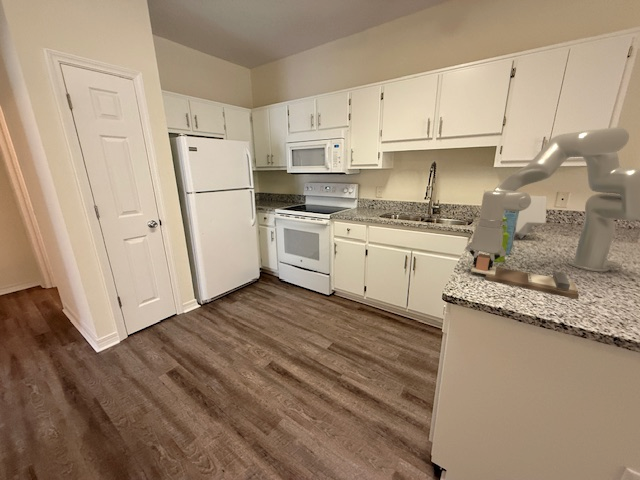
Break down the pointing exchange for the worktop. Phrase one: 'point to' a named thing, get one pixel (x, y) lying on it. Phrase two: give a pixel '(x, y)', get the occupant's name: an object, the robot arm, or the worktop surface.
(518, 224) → the white box
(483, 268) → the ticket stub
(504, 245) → the soap dispenser
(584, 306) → the worktop surface
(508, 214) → the light blue box
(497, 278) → the ticket board
